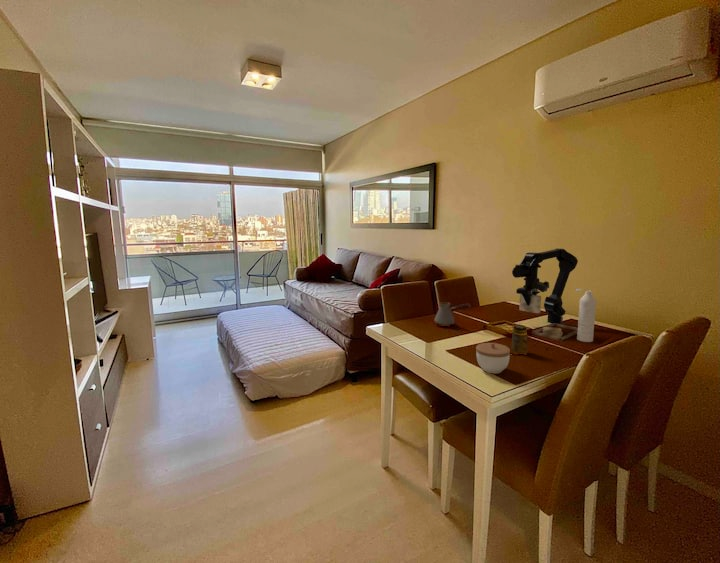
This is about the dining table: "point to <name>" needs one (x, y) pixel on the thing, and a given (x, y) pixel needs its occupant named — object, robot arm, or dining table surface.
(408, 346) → the dining table surface
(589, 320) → the water bottle
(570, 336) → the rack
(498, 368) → the lidded bowl
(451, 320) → the coffee pot
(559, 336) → the offcut
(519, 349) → the condiment
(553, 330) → the offcut
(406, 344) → the dining table surface
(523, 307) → the pale grey rectangular block
